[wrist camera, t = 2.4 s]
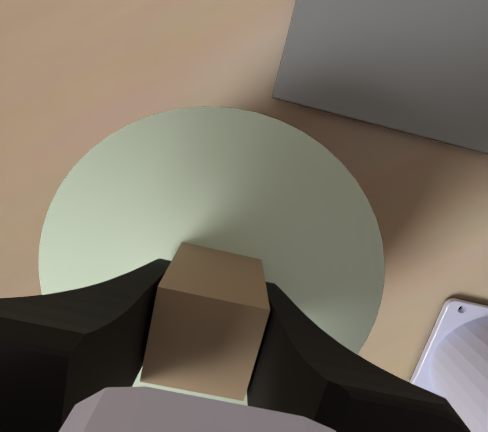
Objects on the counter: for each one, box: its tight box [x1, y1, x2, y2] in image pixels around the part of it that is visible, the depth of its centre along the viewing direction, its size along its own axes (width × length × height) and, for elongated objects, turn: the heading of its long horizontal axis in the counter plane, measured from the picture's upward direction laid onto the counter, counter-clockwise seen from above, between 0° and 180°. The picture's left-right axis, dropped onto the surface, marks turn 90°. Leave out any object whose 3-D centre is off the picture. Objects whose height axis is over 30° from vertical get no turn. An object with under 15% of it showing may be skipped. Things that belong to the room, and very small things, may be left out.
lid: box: [39, 106, 385, 406], centre depth 11 cm, size 13×13×4 cm
